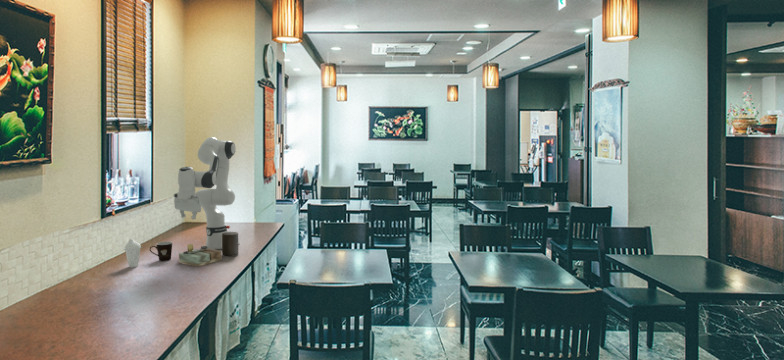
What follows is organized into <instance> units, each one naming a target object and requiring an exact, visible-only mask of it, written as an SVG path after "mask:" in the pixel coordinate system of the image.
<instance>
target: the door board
mask: <svg viewBox="0 0 784 360" xmlns="http://www.w3.org/2000/svg"><path fill="white" fill-rule="evenodd" d="M187 251H188V250H187ZM187 251H186V250H185V251H183V252H179V253H178V261H179V263H180V264H183V263H184V265H187V264H188V265H187V266H191V265H192V267H195V266H196V268H198V267H202V266H205V265H209V264H212V262H213V263H216V262H219V261H222V250H220V249H209V248H208V250H204V251H200V252H195V253H191V254H188V253H187Z"/></svg>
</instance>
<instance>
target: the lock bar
mask: <svg viewBox="0 0 784 360" xmlns="http://www.w3.org/2000/svg"><path fill="white" fill-rule="evenodd" d="M204 250H208V248H207V246H205V245H201V246H200V247H199V248H197V249H196V248H195V249H194V244H193V243H189V244H187V253H188V254H191V253H195V252H200V251H204Z"/></svg>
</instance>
